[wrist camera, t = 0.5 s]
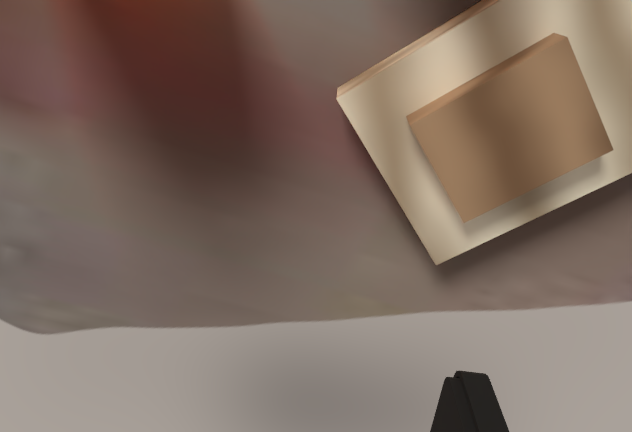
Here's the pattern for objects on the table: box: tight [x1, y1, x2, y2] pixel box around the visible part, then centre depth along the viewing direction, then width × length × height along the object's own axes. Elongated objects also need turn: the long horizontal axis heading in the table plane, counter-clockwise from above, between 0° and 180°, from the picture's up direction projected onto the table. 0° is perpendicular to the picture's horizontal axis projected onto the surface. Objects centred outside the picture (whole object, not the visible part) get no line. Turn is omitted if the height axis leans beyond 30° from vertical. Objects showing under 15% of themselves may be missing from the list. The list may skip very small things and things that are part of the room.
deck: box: [337, 0, 632, 265], centre depth 32 cm, size 16×13×3 cm
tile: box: [406, 33, 614, 223], centre depth 30 cm, size 9×7×2 cm
